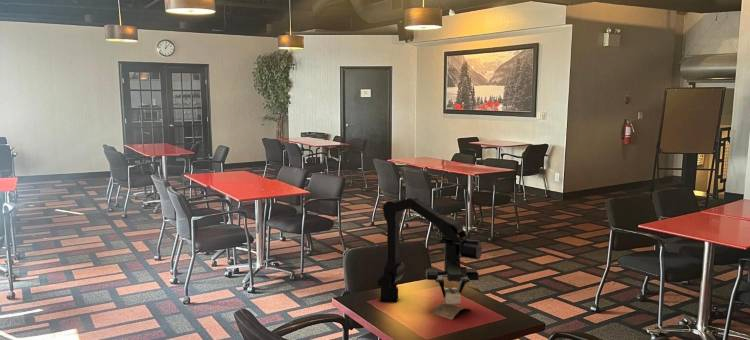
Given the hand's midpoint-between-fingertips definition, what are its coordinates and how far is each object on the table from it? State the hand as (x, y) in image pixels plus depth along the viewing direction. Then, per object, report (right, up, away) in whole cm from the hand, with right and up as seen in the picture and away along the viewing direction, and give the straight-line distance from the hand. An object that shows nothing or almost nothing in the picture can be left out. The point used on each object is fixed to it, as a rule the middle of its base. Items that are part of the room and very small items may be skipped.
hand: (451, 296), depth 215 cm
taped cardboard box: (0, -1, 0) cm, 1 cm away
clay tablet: (0, -7, +1) cm, 7 cm away
